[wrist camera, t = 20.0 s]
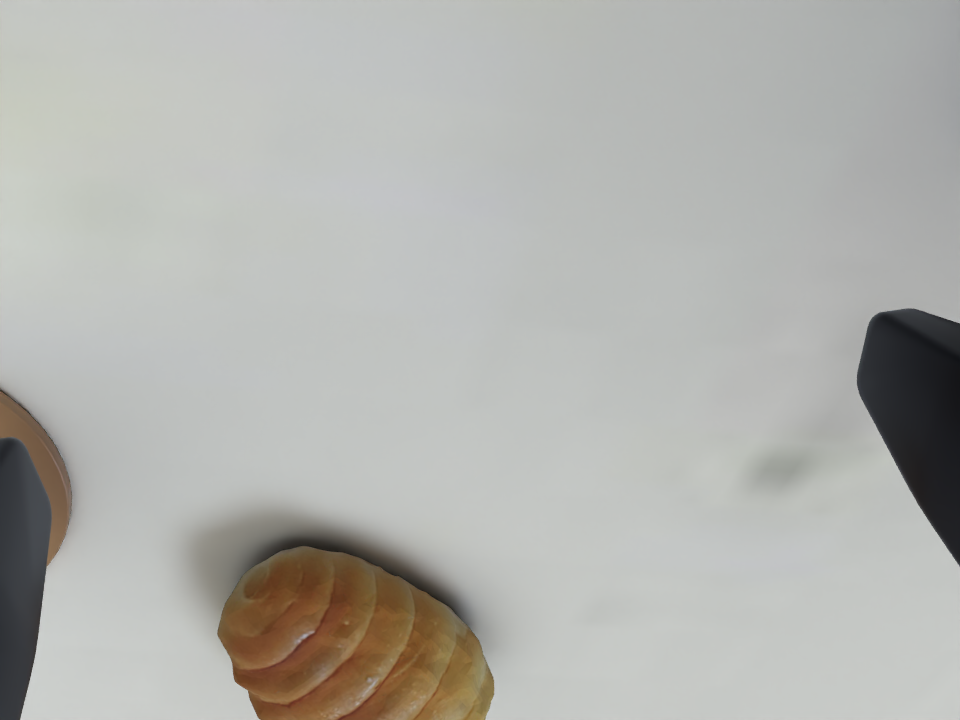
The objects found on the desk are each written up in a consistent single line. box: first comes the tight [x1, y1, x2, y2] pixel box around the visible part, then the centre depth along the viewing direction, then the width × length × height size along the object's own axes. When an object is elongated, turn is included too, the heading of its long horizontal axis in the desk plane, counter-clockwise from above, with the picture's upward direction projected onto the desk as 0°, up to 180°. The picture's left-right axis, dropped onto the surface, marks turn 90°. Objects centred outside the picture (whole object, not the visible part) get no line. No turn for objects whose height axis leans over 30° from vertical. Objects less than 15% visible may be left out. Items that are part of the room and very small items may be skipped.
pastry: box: [218, 546, 494, 720], centre depth 27 cm, size 9×7×4 cm
